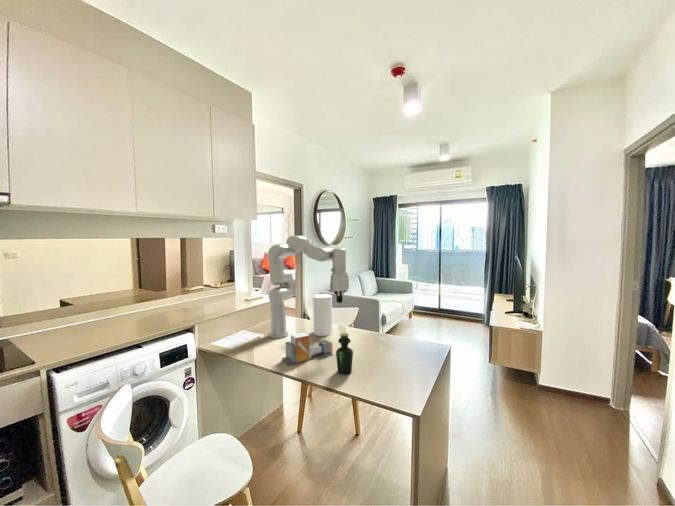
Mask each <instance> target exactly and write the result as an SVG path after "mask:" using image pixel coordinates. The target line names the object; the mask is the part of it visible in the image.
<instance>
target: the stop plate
mask: <svg viewBox="0 0 675 506" xmlns="http://www.w3.org/2000/svg"><path fill="white" fill-rule="evenodd" d="M281 360H282V362H284V363H285V365H286V366H288V367H289V366H292V365H295V364H296V363H295V346H294V345H292V344H291V341H286V342H285V357H282V358H281Z"/></svg>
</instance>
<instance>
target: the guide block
mask: <svg viewBox="0 0 675 506" xmlns="http://www.w3.org/2000/svg"><path fill="white" fill-rule="evenodd" d="M327 340H328V339H322V340H321V339H320V340H318V344H321V345H323V352H322V353H319V354H320V355H321V356H323V357H324V358H326V357H329V356H333V352H331V350H330V342H331V341H330V342H328V341H329V340H328V341H327ZM318 344H317V345H318Z"/></svg>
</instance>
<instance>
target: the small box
mask: <svg viewBox="0 0 675 506" xmlns="http://www.w3.org/2000/svg"><path fill="white" fill-rule="evenodd" d="M290 343H291V344H292V345H294V346H295V364H296V363H299V362H304V361H309V360H310V358H309V346H310V334H308V333H306V332H305V331H304V332H299V333H294V334H291V335H290Z"/></svg>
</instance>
